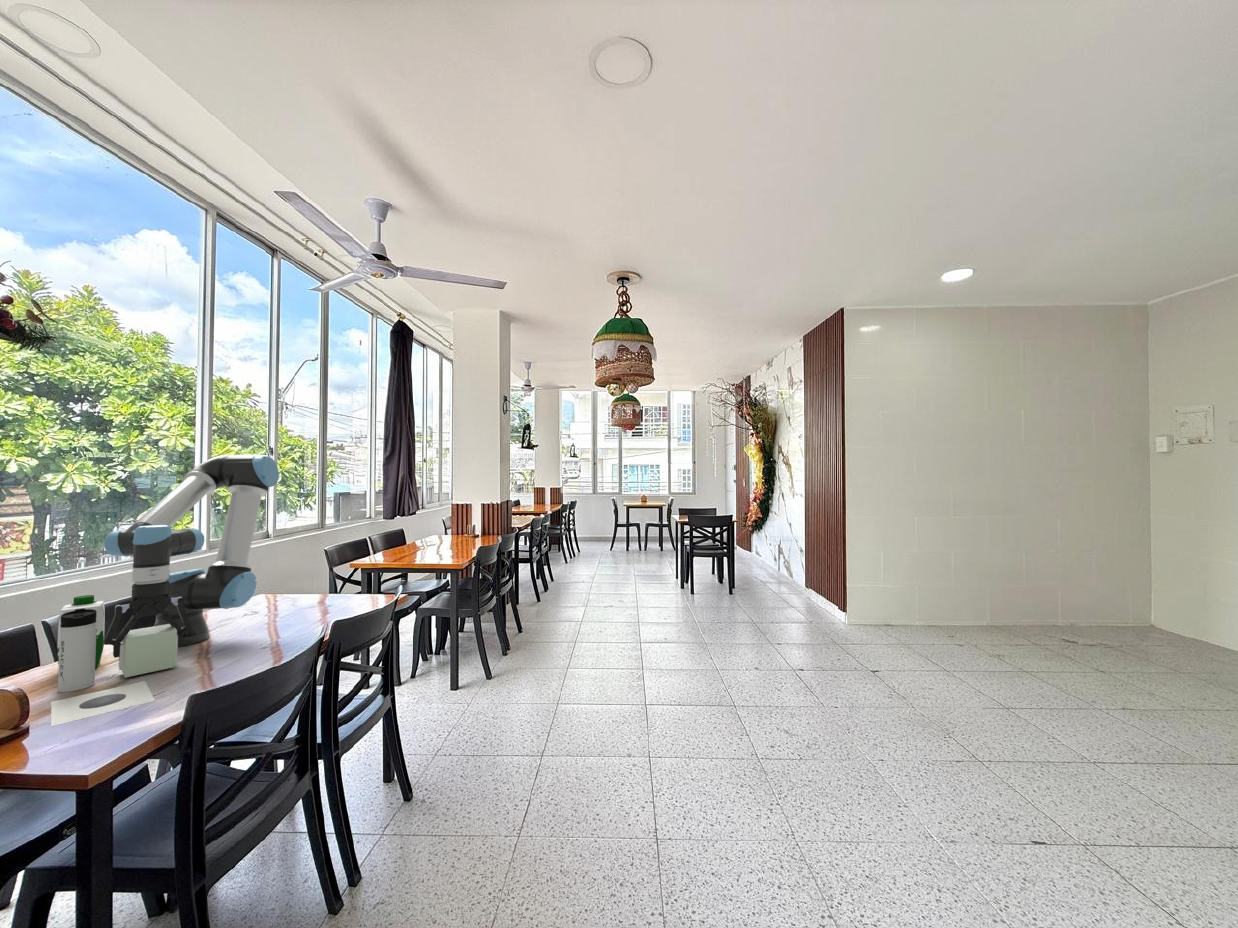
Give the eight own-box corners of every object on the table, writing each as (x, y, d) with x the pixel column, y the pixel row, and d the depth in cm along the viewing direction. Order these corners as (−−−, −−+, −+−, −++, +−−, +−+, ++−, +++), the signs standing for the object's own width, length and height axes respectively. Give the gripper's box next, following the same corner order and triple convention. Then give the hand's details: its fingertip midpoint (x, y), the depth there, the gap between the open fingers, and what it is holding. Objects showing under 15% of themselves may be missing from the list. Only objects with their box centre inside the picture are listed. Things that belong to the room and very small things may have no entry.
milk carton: (104, 661, 145) (107, 592, 146) (100, 669, 138) (103, 598, 139) (60, 668, 139) (62, 597, 140) (53, 678, 133) (56, 603, 133)
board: (50, 706, 116) (51, 701, 116) (145, 684, 128) (145, 680, 128) (51, 730, 104) (51, 725, 104) (154, 704, 116) (155, 699, 116)
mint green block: (120, 668, 135) (122, 631, 135) (169, 658, 142) (171, 623, 143) (124, 677, 128) (125, 638, 129) (175, 666, 136) (176, 629, 136)
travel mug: (95, 683, 129) (97, 606, 130) (93, 691, 124) (96, 610, 125) (59, 690, 124) (61, 610, 125) (56, 698, 120) (59, 615, 120)
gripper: (92, 590, 125) (89, 678, 124) (206, 577, 142) (204, 655, 142) (90, 586, 130) (87, 671, 129) (201, 574, 147) (199, 649, 146)
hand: (148, 663), depth 135 cm, fingers closed on mint green block, 10 cm apart
